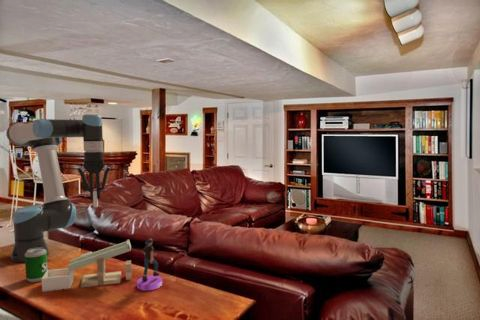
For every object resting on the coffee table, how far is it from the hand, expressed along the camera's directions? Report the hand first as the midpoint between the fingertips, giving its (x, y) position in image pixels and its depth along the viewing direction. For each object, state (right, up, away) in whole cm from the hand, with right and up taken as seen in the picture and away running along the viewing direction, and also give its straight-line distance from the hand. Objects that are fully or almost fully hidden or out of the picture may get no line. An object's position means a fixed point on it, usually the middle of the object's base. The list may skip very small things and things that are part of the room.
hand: (95, 206), depth 151 cm
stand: (+9, -27, -12) cm, 31 cm away
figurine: (+27, -28, -16) cm, 42 cm away
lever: (+6, -18, -9) cm, 21 cm away
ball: (-7, -26, -16) cm, 31 cm away
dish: (-8, -28, -16) cm, 33 cm away
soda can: (-19, -28, -10) cm, 35 cm away
